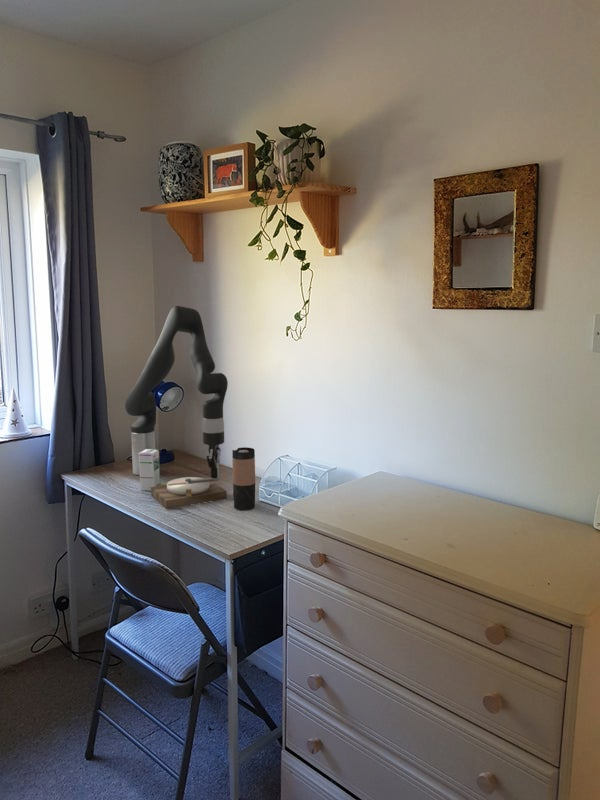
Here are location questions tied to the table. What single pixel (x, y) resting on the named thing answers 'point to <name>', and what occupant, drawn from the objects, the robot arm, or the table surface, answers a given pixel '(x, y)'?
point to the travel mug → (244, 478)
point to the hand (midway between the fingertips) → (214, 477)
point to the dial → (190, 485)
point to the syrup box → (149, 469)
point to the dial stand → (187, 496)
